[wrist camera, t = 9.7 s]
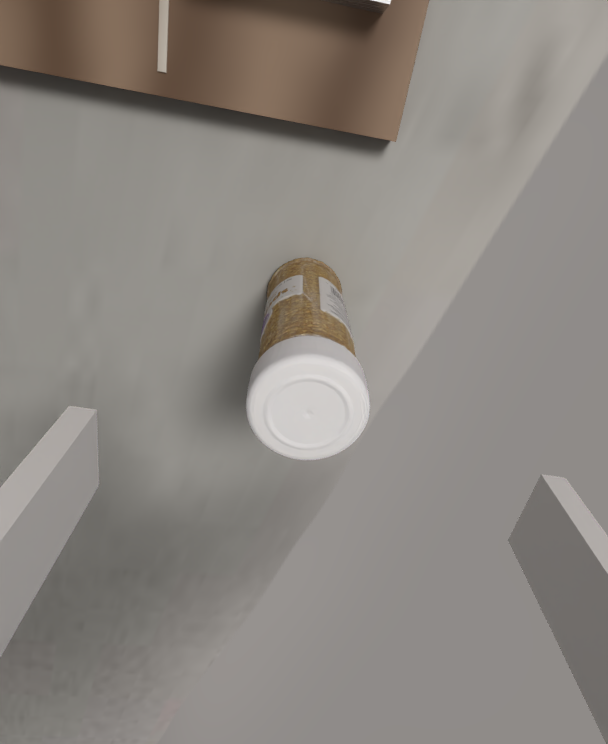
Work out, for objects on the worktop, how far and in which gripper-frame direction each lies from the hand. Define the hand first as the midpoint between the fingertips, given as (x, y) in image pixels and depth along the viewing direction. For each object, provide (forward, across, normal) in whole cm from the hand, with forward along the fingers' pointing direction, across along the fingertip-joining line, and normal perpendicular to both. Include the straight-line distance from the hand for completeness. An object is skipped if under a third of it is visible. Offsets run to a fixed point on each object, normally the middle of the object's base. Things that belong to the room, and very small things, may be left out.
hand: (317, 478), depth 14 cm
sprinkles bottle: (+17, 0, 0) cm, 17 cm away
